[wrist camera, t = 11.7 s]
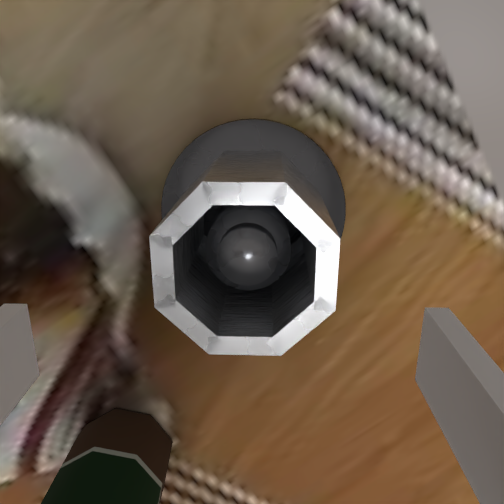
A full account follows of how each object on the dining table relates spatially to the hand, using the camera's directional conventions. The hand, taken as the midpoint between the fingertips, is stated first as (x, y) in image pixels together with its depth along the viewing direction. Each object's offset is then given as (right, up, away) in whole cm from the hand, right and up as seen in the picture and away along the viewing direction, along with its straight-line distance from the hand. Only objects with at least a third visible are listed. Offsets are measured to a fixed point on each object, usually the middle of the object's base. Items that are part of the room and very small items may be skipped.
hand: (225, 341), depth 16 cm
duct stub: (+1, +6, +15) cm, 17 cm away
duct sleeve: (+1, +5, +15) cm, 16 cm away
